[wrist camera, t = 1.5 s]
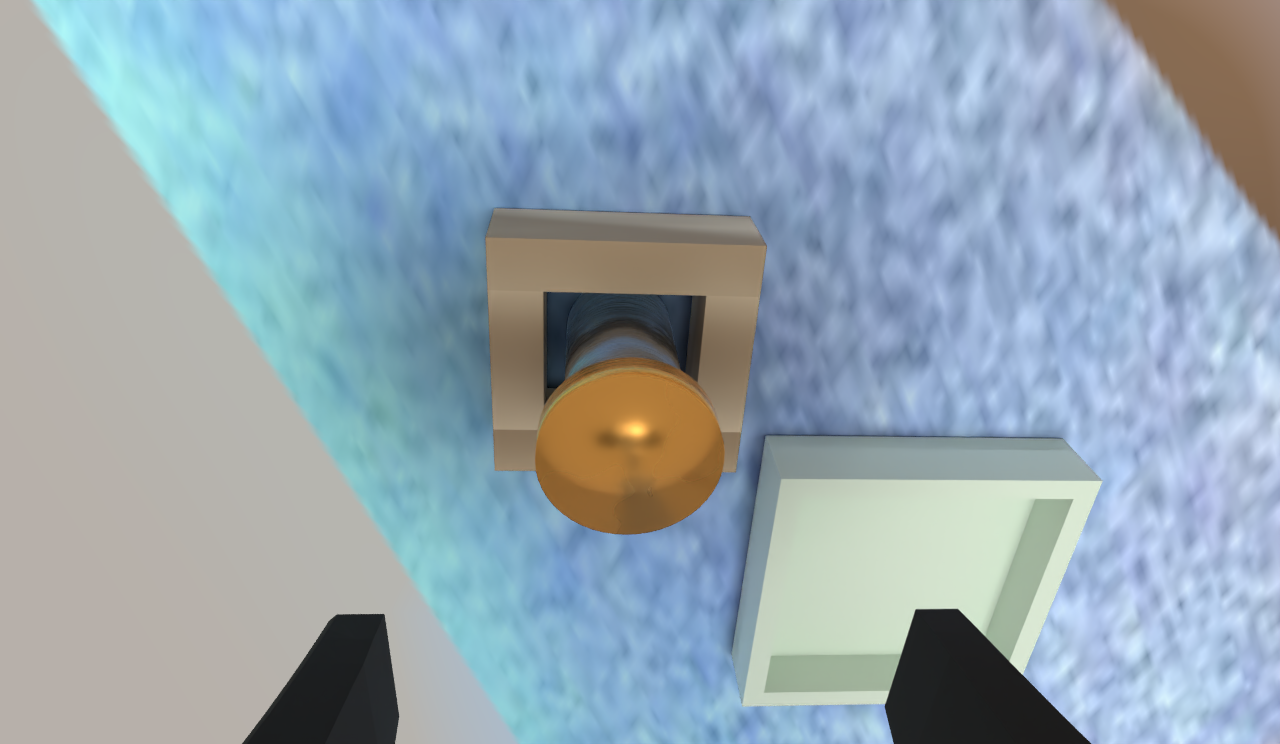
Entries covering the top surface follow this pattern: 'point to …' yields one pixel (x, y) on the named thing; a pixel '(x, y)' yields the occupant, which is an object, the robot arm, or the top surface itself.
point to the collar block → (625, 264)
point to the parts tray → (898, 555)
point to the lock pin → (626, 422)
